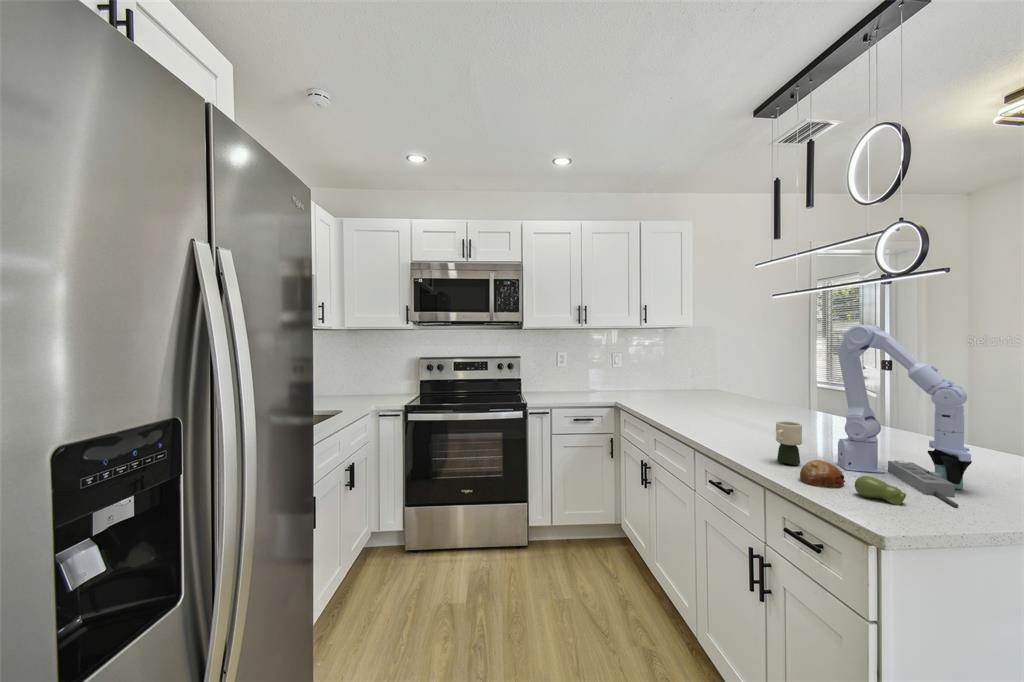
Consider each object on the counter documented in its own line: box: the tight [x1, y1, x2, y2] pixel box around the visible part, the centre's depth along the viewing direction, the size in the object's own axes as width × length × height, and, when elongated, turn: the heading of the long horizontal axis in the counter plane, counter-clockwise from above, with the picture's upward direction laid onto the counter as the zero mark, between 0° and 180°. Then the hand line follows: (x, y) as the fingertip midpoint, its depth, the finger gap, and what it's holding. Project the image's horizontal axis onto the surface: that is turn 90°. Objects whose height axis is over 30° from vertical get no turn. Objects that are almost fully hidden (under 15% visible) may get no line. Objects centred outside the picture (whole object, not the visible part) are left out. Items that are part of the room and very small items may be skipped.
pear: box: [854, 475, 907, 506], centre depth 111 cm, size 6×5×10 cm
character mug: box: [775, 420, 803, 466], centre depth 141 cm, size 11×7×13 cm, turn 115°
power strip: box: [887, 459, 959, 508], centre depth 119 cm, size 6×28×4 cm, turn 161°
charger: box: [929, 464, 964, 490], centre depth 120 cm, size 6×4×5 cm
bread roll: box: [799, 459, 846, 489], centre depth 124 cm, size 10×10×8 cm
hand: (948, 480), depth 120 cm, fingers closed on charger, 4 cm apart
